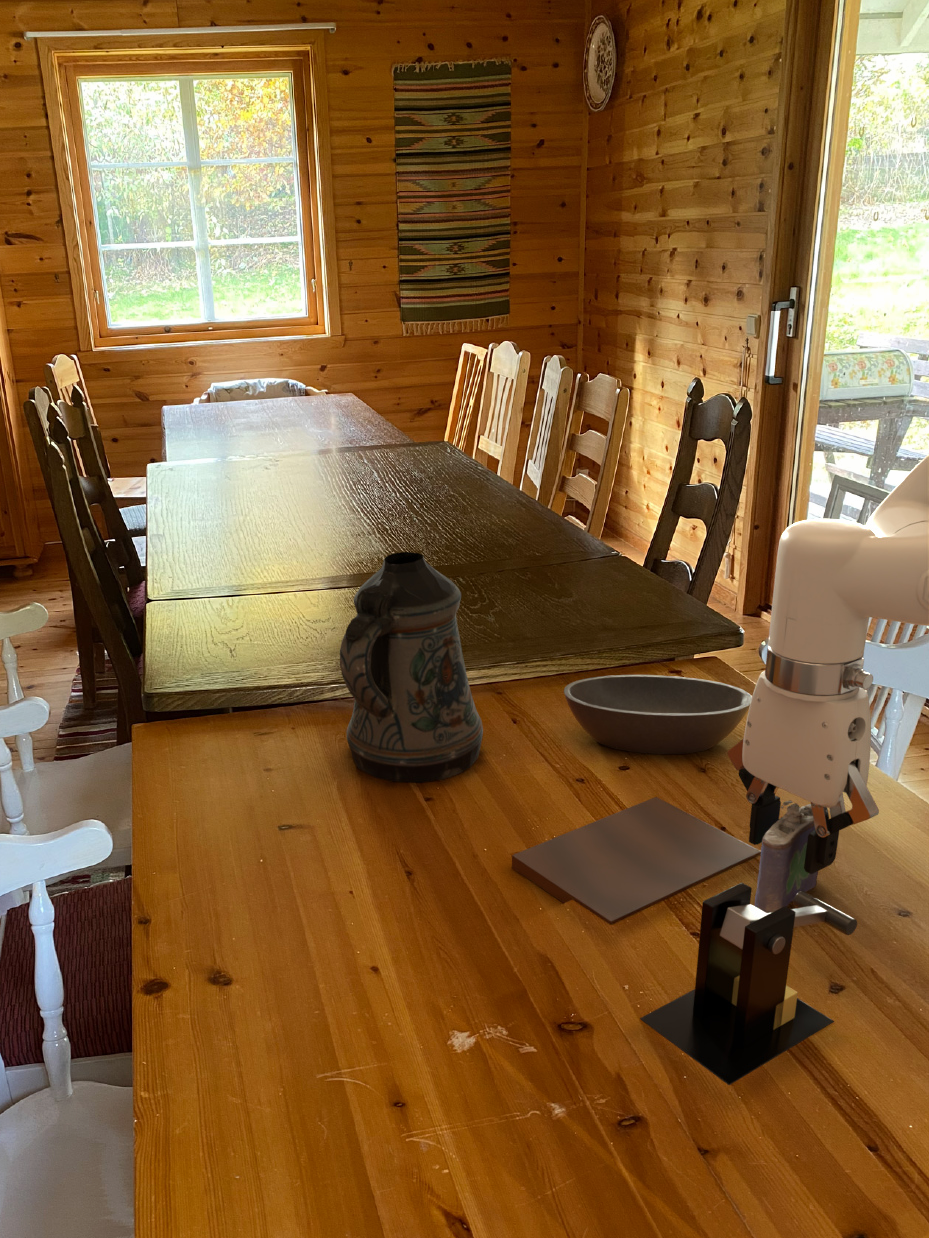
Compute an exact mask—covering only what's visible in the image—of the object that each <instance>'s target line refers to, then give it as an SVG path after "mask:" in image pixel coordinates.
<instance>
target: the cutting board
mask: <svg viewBox="0 0 929 1238" xmlns="http://www.w3.org/2000/svg"><path fill="white" fill-rule="evenodd" d="M760 856H761V850H759V849H758V848H756V847H754V846H752V845H750V844H749V843H746V842H744V841H742V840H740V839H738V838H736V837H735V836H732V835H730V834H728V833H727V832H724V831H723V830H721V829H720V828H717V827H715V826H713V825H712V824H710V823H707V822H705V821H704V820H702V819H699V818H698V817H696V816H694V815H692V814H690V813H689V812H686V811H684V810H682V809H681V808H679V807H677V806H675V805H673V804H671V803H669V802H667V801H665V800H663V799H661V798H659V797H658V796H654V797H652V798H649V799H646V800H645V801H642V802H640V803H637V804H634V805H632V806H629V807H627V808H625V809H623V810H620V811H618V812H615V813H613V814H610V815H608V816H605V817H603V818H600V819H598V820H594V821H593V822H590V823H587V824H585V825H583V826H581V827H578V828H576V829H573V830H571V831H568V832H566V833H563V834H561V835H558V836H556V837H553V838H551V839H548V840H546V841H544V842H541V843H539V844H536V845H534V846H531V847H528V848H527V849H524V850H522V851H519V852H517V853H514V854H512V855H511V868H512V869H513V870H514V871H515V872H517V873H519V874H520V875H521V876H523V877H524V878H526V879H527V880H529V881H530V882H532V883H533V884H534V885H536V886H538V887H539V888H540V889H542V890H543V891H545V892H546V893H548V894H549V895H551V896H552V897H554V899H556V900H558V901H560V902H561V903H562V904H567V903H568V902H571V901H575V902H576V903H578V904H579V905H581V906H582V907H583V908H585V909H586V910H588V911H589V912H591V913H592V914H594V915H595V916H597V917H598V918H600V919H601V920H603V921H604V922H605V923H607V924H609V925H611V926H612V925H614V924H616V923H618V922H621V921H622V920H625V919H627V918H629V917H631V916H633V915H635V914H638V913H639V912H642V911H644V910H646V909H648V908H650V907H653V906H654V905H656V904H658V903H661V902H663V901H665V900H667V899H669V898H672V897H673V896H675V895H678V894H680V893H682V892H683V891H686V890H688V889H690V888H693V887H695V886H697V885H700V884H701V883H703V882H705V881H707V880H711V878H714V877H716V876H718V875H720V874H722V873H724V872H727V871H729V870H731V869H733V868H734V867H737V866H739V865H741V864H744V863H746V862H748V861H750V860H752V859H754V858H756V857H760Z"/></svg>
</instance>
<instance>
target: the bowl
mask: <svg viewBox="0 0 929 1238" xmlns="http://www.w3.org/2000/svg"><path fill="white" fill-rule="evenodd" d="M563 694H564V697H565V700H566V703H567V705H568V708H569V709H570V711H571V713H572V715H573V716H574V718H575V721H577V722H578V723H579V726H581V728H582V729H583V730H584V731H585V732H586V733H587V734H588V735H589V736H590V737H591V738H592V739H593V740H594V741H596V742H597V743H598V744H600V745H602V746H605V747H608V748H611V749H616V750H619V751H626V752H631V753H640V754H653V755H683V754H695V753H700V752H704V751H708V750H710V749H711V748H713V747H715V746H716V745H717V744H719V743H721V742H722V741H723V740H725V739H726V738H727V737H728V736H729V735H730V734H731V733H732V732H733V731H734V730H735V729H736V728H737V726H738V725H739V724H740V723H741V722H742V720H743V719H744V717H745V716H746V715H747V713H748V712H749V707H750V703H751V699H752V696H753V695H751V694H750V693H749V692H747V691H746V690H744V689H742V688H740V687H738V686H735V685H732V684H728V683H723V682H719V681H714V680H708V679H704V678H703V679H702V678H695V677H685V676H684V677H683V676H676V675H675V676H674V675H673V676H672V675H659V674H657V675H656V674H620V675H602V676H594V677H593V676H592V677H588V678H583V679H579V680H576V681H572V682H571V683H569V684H567V685H566V686H565V687H564V689H563Z"/></svg>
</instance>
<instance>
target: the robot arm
mask: <svg viewBox="0 0 929 1238" xmlns="http://www.w3.org/2000/svg"><path fill="white" fill-rule="evenodd" d="M776 555H777V556H776V564H775V574H774V583H773V593H772V602H771V610H770V611H771V613H770V622H769V629H768V641H767V650H766V659H765V669H764V670H763V671H762V672H761V673H760V674H759V675H758V679H757V681H756V684H755V687H754V690H753V693H752V695H751V696H752V699H751V703H750V707H749V709H748V711H747V716H746V723H745V728H744V734H743V738H742V739H741V740H739V742H737V743H736V744H735V745H733V746H732V747H731V748H729V749H728V751H727V757H728V758H729V761H730V762H731V763H732V765H733V766H734V768H735V770H736V771H738V777H739V779H740V781H741V783H742V785H743V786H744V788H745V790H746V794H745V798H746V800H747V802H748V803H750V804H751V807H750V808H751V809H750V817H749V835H748V842H749V843H750V844H751V845H753V846H756V845H760V844H762V839H763V836H764V835H765V833H766V832H767V831H768V830H769V829H770V828H771V826H772V825H773V824H774V823H776V822H777V820H779V819H780V814H781V807H782V802H781V797H780V796H777V795H776V794H777V792H778V790H779V789H781V790H783V791H785V792H788V793H789V794H792V795H794V796H796V797H799V798H800V799H803V800H805V801H807V802H808V803H809V802H810V804H811V807H812V813H813V819H814V825H815V831H813V832H811V833H809V835H808V841H807V849H806V856H805V864H804V869H805V871H806V872H808V873H809V874H813V873H815V872H817V871H818V872H819V871H821V870H823V869H825V868H827V867H829V866H831V865H832V864H833V863H835V860H836V857H837V851H838V843H839V837H840V831H841V830H844V829H846V828H848V827H850V826H853V825H857V824H859V823H863V822H865V821H869V820H870V819H872V818H874V817H876V816H878V815H879V813H880V810H879V807H878V805H877V804H876V801H875V800H874V798H873V797H874V796H873V795H872V793H871V792H870V790H869V788H868V780H869V774H870V773H869V772H870V760H871V746H872V718H871V717H872V716H871V705H870V700H869V699H870V697H869V692H868V691H867V690H868V689H869V688H870V687H872V684H873V682H874V675H873V674H872V673H869V672H866V670H865V669H864V666H865V665H864V664H865V658H864V656H865V648H866V641H867V634H868V630H869V629H868V628H869V621H870V618H872V619H879V620H886V621H891V622H896V623H897V622H898V623H903V624H909V625H916V626H924V627H925V626H927V627H929V453H928V454H927V455H926V456H924V458H922V459H921V460H920V462H918V464H916V465H915V466H914V467H913V468H912V469H911V471H910V472H908V474H907V475H905V477H904V478H903V479H902V480H901V481H900V482H899V483H898V485H896V487H894V488H893V490H892V491H890V492H889V494H888V495H887V496H886V497H885V498H884V499H883V500H882V502H881V503H880V504H879V505H878V506H877V507H876V509H875V510H874V511H873V512H872V514H871V515H870V516H869V518H868V519H867V521H866V523H865V524H861V523H859V522H854V521H851V520H846V519H837V518H813V519H804V520H800V521H796V522H794V523H793V524H790V525H789V526H787V527H786V528H785V529H784V531H783V532H782V534H781V536H780V538H779V542H778V548H777V554H776ZM843 793H845V794H846V795H847V798H848V799H849V801H850V803H851V808H849V809H848V810H846V805H845V799H844V794H843ZM828 808H829V810H828ZM829 813H830V814H829Z"/></svg>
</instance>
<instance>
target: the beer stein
mask: <svg viewBox="0 0 929 1238" xmlns="http://www.w3.org/2000/svg"><path fill="white" fill-rule="evenodd" d="M425 559H426V558H425V557H424V555H423V554H422V553H419V552H411V551H400V552H394V553H391V554H388V555H386V557H384V559H383V562H382V565H381V567H380V569H378V570H377V571H376V572H375V573H374V574H373V575H371V576H370V577H369V578H368V579H367V580H366V581H365V582H364V583H363V584H362V585H361V586H360V587H359V588H358V590H357V591H356V593H355V595H354V597H353V605H354V607H355V612H356V615H355V617H353V618H352V619H351V621H350V622H349V623H348V625H347V627H346V629H345V633H344V635H343V638H342V640H341V643H340V648H339V667H340V672H341V676H342V679H343V682H344V684H345V687H346V688H347V690H348V692H349V693H350V695H351V696H352V698H353V699H354V702H353V703H354V704H353V710H352V714H351V718H350V720H349V722H348V725H347V728H346V740H347V744H348V747H349V749H350V752H351V758H352V760H353V762H354V763H355V766H356V767H357V769H358V770H360V771H362V772H364V773H367V774H368V775H371V776H372V777H374V778H376V779H381V780H385V781H390V782H394V783H415V784H416V783H418V784H421V783H428V782H435V781H440V780H441V781H442V780H446V779H449V778H451V777H454V776H458V775H460V774H462V773H464V772H465V771H467V770H468V769H470V768H471V767H472V766H473V765H474V763H476V761H477V760H478V759H479V755H480V750H481V746H482V741H483V736H484V735H483V734H484V727H483V721H482V718H481V716H480V714H479V712H478V710H477V708H476V704H475V702H474V699H473V698H474V697H473V694H472V691H471V687H470V683H469V678H468V675H467V668H466V664H465V660H464V654H463V648H462V643H461V637H460V632H459V627H458V620H457V613H458V611H459V608H460V603H461V599H462V592H461V591H460V588H459V587H458V586H457V585H456V584H455V583H454V581H452V580H451V579H450V578H449V577H448V576H447V577H446V575H444V574H442V573H441V572H439V571H438V570H436V569H435V568H434V567H433V566H431V565H430V564H429V563H427V561H426V560H425Z"/></svg>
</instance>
